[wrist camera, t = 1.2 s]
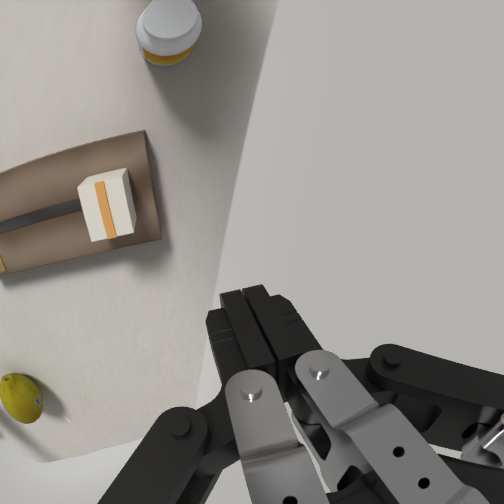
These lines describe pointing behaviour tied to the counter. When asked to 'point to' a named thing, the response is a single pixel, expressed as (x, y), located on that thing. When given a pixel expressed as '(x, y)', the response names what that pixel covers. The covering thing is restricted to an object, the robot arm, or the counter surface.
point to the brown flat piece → (70, 203)
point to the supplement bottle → (168, 31)
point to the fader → (108, 204)
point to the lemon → (21, 398)
